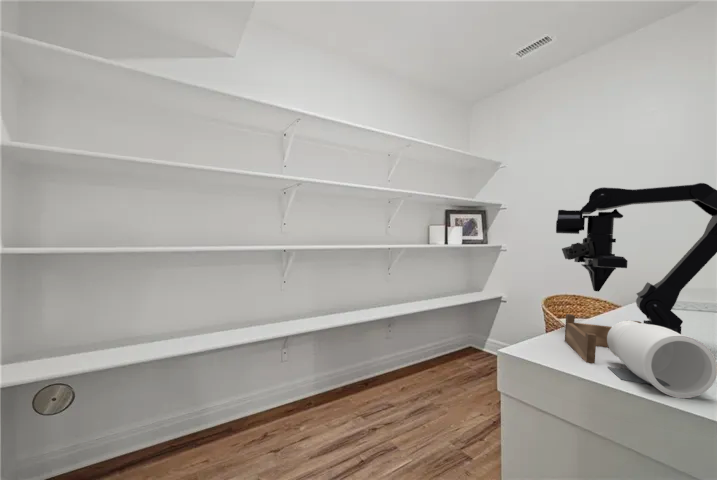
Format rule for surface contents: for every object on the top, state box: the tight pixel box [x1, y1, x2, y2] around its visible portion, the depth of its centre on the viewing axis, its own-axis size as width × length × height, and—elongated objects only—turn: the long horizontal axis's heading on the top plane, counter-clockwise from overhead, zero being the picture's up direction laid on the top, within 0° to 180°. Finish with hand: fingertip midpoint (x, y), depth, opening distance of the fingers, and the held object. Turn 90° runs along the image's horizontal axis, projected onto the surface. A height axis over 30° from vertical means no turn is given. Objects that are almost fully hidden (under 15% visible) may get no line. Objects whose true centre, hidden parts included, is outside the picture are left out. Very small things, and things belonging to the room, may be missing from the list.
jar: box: [607, 320, 717, 399], centre depth 61 cm, size 11×10×15 cm
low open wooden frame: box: [564, 313, 642, 364], centre depth 73 cm, size 16×15×7 cm
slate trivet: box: [607, 366, 670, 386], centre depth 62 cm, size 8×6×1 cm
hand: (596, 291), depth 88 cm, fingers closed
